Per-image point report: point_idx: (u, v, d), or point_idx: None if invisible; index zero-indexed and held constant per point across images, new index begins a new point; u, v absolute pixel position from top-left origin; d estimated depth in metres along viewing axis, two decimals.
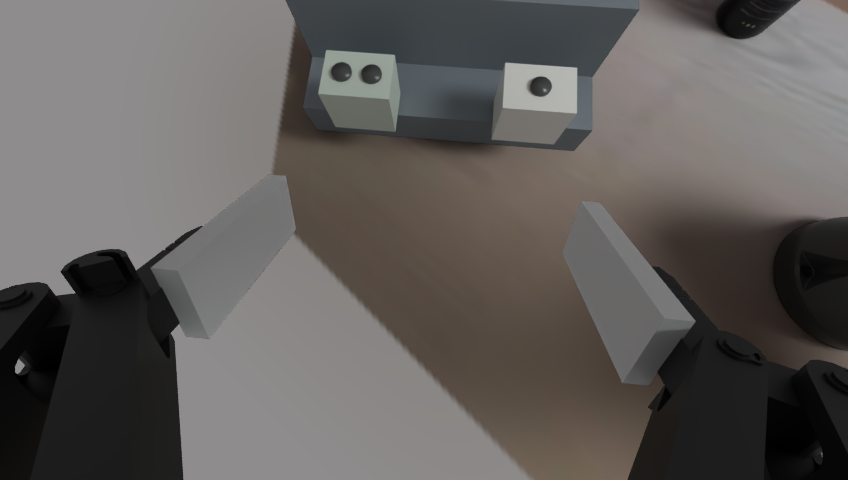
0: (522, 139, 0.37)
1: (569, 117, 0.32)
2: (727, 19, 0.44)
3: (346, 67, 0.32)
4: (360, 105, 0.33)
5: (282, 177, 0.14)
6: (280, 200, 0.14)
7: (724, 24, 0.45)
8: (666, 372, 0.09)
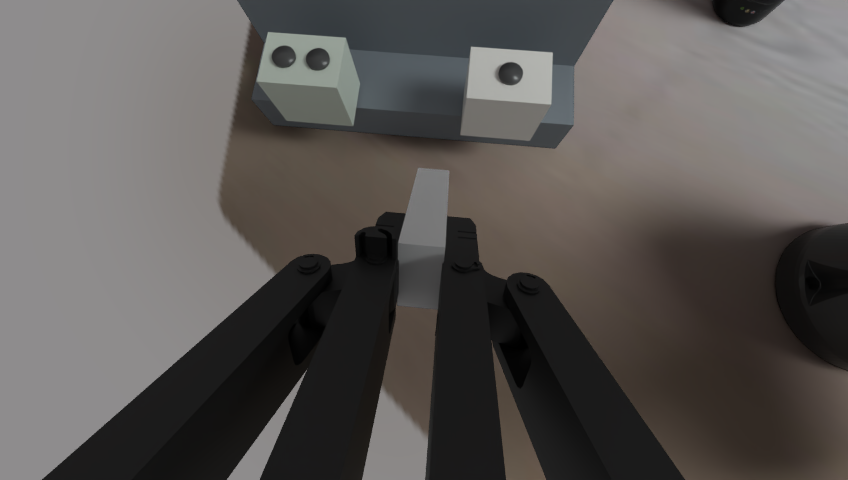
0: (494, 135, 0.33)
1: (543, 109, 0.28)
2: (725, 4, 0.40)
3: (289, 51, 0.28)
4: (307, 95, 0.29)
5: (432, 170, 0.15)
6: None
7: (721, 10, 0.41)
8: (439, 293, 0.11)
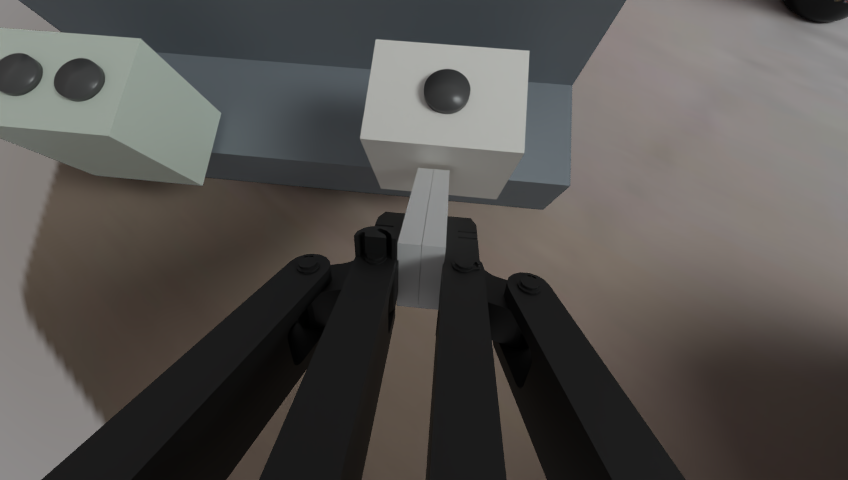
0: None
1: (510, 159, 0.14)
2: None
3: (25, 64, 0.15)
4: (75, 144, 0.16)
5: (431, 170, 0.15)
6: None
7: None
8: (439, 293, 0.11)
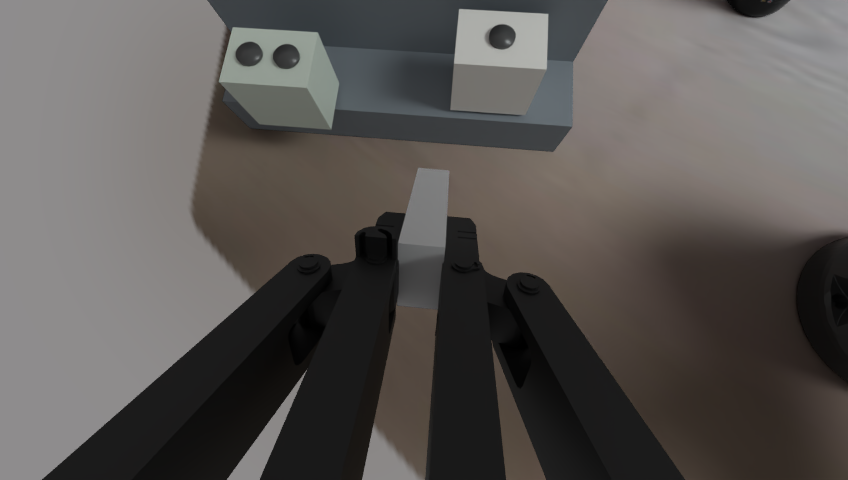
0: (486, 109, 0.30)
1: (538, 75, 0.25)
2: None
3: (255, 48, 0.25)
4: (276, 96, 0.26)
5: (432, 170, 0.15)
6: None
7: None
8: (439, 293, 0.11)
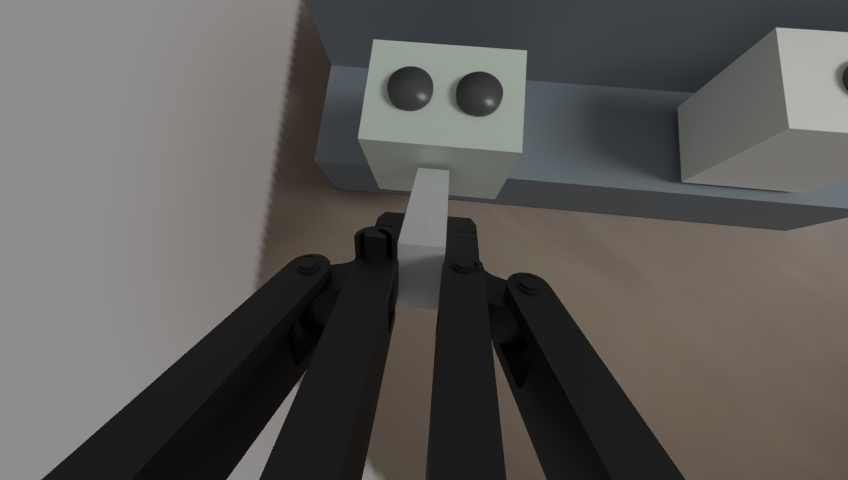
0: (746, 184, 0.19)
1: None
2: None
3: (421, 78, 0.14)
4: (447, 160, 0.15)
5: (431, 170, 0.15)
6: None
7: None
8: (439, 293, 0.11)
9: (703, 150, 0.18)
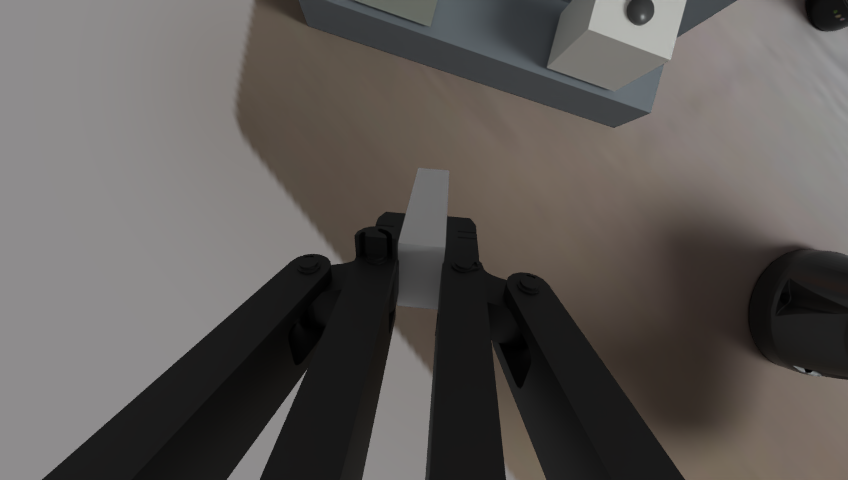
0: (582, 77, 0.30)
1: (658, 62, 0.25)
2: (820, 1, 0.38)
3: None
4: None
5: (432, 170, 0.15)
6: None
7: (814, 6, 0.38)
8: (439, 293, 0.11)
9: (560, 44, 0.28)
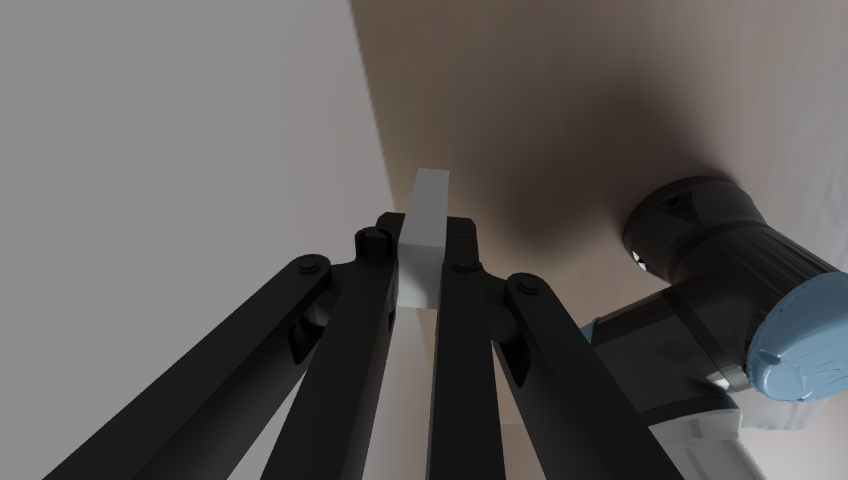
0: None
1: None
2: None
3: None
4: None
5: (432, 170, 0.15)
6: None
7: None
8: (439, 293, 0.11)
9: None
